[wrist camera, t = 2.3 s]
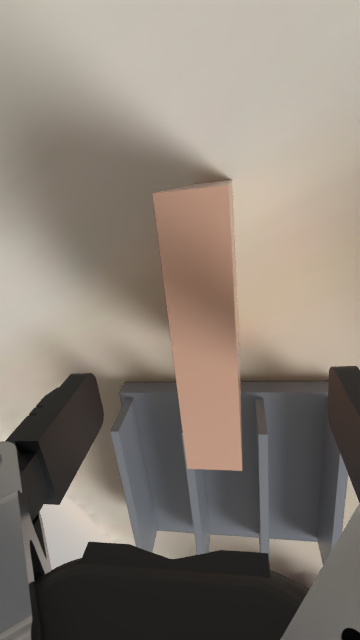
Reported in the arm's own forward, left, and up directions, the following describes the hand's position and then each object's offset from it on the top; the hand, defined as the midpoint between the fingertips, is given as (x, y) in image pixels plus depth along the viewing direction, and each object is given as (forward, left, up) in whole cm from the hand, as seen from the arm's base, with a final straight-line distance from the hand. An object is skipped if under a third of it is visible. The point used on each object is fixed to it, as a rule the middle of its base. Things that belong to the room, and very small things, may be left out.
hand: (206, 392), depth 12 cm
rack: (+16, 0, -14) cm, 22 cm away
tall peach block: (-1, 0, -14) cm, 14 cm away
